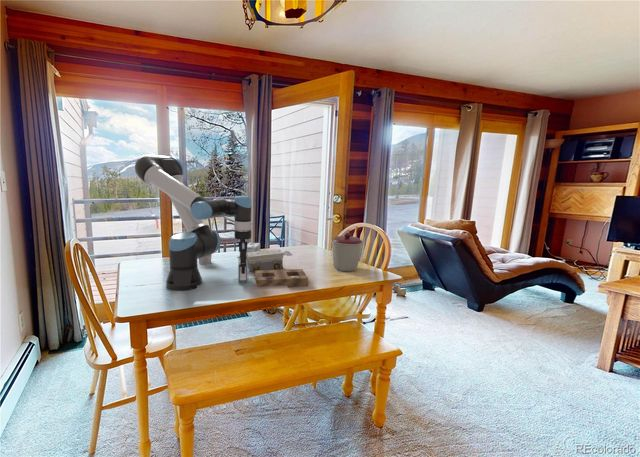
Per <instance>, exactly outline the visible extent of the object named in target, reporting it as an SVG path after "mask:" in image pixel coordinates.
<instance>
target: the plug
mask: <svg viewBox="0 0 640 457" xmlns="http://www.w3.org/2000/svg"><path fill="white" fill-rule="evenodd" d="M237 263H238V266H237V268H238V269H237V270H238V273H237V274H238V276H237V279H238V283H247V278H248V265H247V260H246V280H240V267H239V265H240V260H239V259H238V262H237ZM242 264H245V263H242Z"/></svg>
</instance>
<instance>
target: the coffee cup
mask: <svg viewBox="0 0 640 457" xmlns="http://www.w3.org/2000/svg"><path fill="white" fill-rule="evenodd" d="M212 255H213V254H211V255H207V256H204V257H201V258H198V259H197V260H198V264H200V265H208V264H211V263H212Z"/></svg>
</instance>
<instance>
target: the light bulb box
mask: <svg viewBox="0 0 640 457" xmlns="http://www.w3.org/2000/svg"><path fill="white" fill-rule="evenodd" d="M256 251H261V243H260V242H249V243H248V242H247V252H246V256H247V253H248V252H256ZM247 266H248V264H247Z"/></svg>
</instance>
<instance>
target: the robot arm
mask: <svg viewBox="0 0 640 457" xmlns="http://www.w3.org/2000/svg"><path fill="white" fill-rule="evenodd" d="M184 169H185V168H184V165H183V163H182V162H181V160H180V159H178V158H177V157H174V156H172V155H171V156H170V155H155V154H145V155H141V156H140V157H139V158H138V159H137V160H136V161H135V165H134V171H135V174H136V176H138V178H139V179H140V180H141V181H143V182H144V183H146V184H147V185H149V186H152V185H153V186H154V187H156V188H157V189H159V190H161V191H162V192H163V193H165V194H166V195H167V196H168V197H169V199H170V201H171V203H172V204H173V206H174V208H175V210H176V212H177V214H178V216H179V219H180V220H181V222H182V224H183V226H184V227H185V230H186V232H179V233H175V234H173V235H172V236H171V237H169V240H168V254H169V257H168V258H169V272H168V274H167V277H166V281H165V285H166V286H165V287H166V288H167V289H169V290H172V291H189V290H194V289H196V288H197V287H198V286H199V285H201V284H202V282H203V279H202V278H203V277H202V276H201V273H200V270H199V267H198V266H199V265H198V264H199V261H198V260H199V259H198V258H201V257H204V256H207V255H211V254H212V255H213V254H215V253H216V252H218V251H219V249H220V247H221V242H222V239H221V237H220V236H221V235H220V234H219V233H218V232H217V231H215V230H213V229H211V227H210V225H209V224H207V223H205V222H204V221H203V220H207V219H208V220H209V219H212V218H218V217H223V216H229V217H234V218H233V219H234V222H233V223H234V239H236V240H239V241H238V250H239V256H240V265H239V267H240V280H246V259H247V256H246V252H247V244H248V241H247V240H250V239H252V230H251V229H252V225H253V223H254V222H252V207H253V206H252V198H251V197H250V196H247V195H236V196H234V198H233V199H229V198H228V199H227V198H221V197H220V198H214V199H213V200H209V199H206V198H205V197H203V196H202V195H200V194H199V193H197V192H195V191H194V190H193V189H192V188H190V187H188V186H186V185H185V184H184V183H183V179H184ZM242 263H245V264H242Z"/></svg>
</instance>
